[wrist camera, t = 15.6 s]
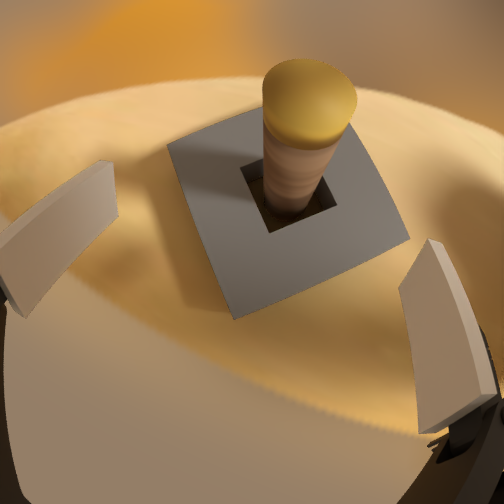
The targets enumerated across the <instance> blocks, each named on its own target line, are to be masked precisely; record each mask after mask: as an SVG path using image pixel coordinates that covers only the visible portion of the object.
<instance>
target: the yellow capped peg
mask: <svg viewBox="0 0 504 504" xmlns="http://www.w3.org/2000/svg"><path fill="white" fill-rule="evenodd" d="M262 91H263V167H264V206H265V209H266V210H267V212H268V213H269V214H270V215H271V216H272V217H273V218H275V219H277V220H280V221H292V220H295V219H297V218H298V217H299V216H300V215H301V214H302V213H303V212H304V210H305V208H306V206H307V204H308V202H309V200H310V198H311V197H312V195H313V193H314V191H315V189H316V187H317V185H318V183H319V181H320V179H321V177H322V175H323V173H324V171H325V169H326V167H327V165H328V163H329V161H330V159H331V157H332V155H333V154H334V152H335V150H336V148H337V146H338V144H339V142H340V140H341V138H342V135H343V133H344V131H345V129H346V127H347V125H348V123H349V121H350V119H351V117H352V115H353V113H354V111H355V109H356V106H357V94H356V91H355V88H354V86H353V84H352V83H351V82H350V80H349V79H348V78H347V77H346V76H345V75H344V74H343V73H342V72H340V71H339V70H338V69H336V68H334V67H333V66H331V65H328V64H326V63H324V62H320V61H317V60H311V59H293V60H288V61H284V62H282V63H279V64H278V65H276V66H274V67H273V68H272V69H271V70H270V71H269V72H268V73H267V74H266V76H265V78H264V81H263V87H262Z"/></svg>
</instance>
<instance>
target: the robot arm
mask: <svg viewBox="0 0 504 504" xmlns="http://www.w3.org/2000/svg"><path fill="white" fill-rule="evenodd" d="M117 217H118V208H117V199H116V190H115V180H114V167H113V162H110V161H102V160H100V161H98V162H96V163H95V164H93V165H91V166H90V167H88V168H87V169H85V170H83V171H82V172H80V173H79V174H77V175H76V176H74V177H73V178H71V179H70V180H68V181H67V182H65V183H64V184H62V185H61V186H59V187H58V188H57V189H55V190H54V191H52V192H51V193H50V194H48V195H47V196H45V197H44V198H43V199H41V200H40V201H39V202H37V203H36V204H35V205H34V206H32V207H31V208H30V209H29V210H27V211H26V212H25V213H24V214H22V215H21V216H20V217H19V218H17V219H16V220H15V221H14V222H13V223H12V224H10V225H9V226H8V227H7V228H6V229H5V230H4V231H3V232H1V233H0V504H31V503H30V502H29V501H28V500H27V499H26V498H25V497H24V496H23V494H22V492H21V489H20V486H19V482H18V478H17V474H16V470H15V466H14V462H13V458H12V452H11V448H10V442H9V435H8V429H7V421H6V411H5V400H4V376H3V362H4V361H3V360H4V359H3V358H4V337H5V325H6V315H7V309H6V306H5V305H4V303H5V301H6V300H7V299H8V301H9V303H10V305H11V306H12V308H13V309H14V311H15V312H17V313H18V314H20V315H21V316H22V317H24V318H27V317H28V315H29V314H30V313H31V311H32V310H33V309H34V307H35V306H36V305H37V303H38V302H39V301H40V300H41V299H42V297H43V296H44V295H45V294H46V293H47V291H48V290H49V289H50V288H51V287H52V285H53V284H54V283H55V282H56V281H57V280H58V278H59V277H60V276H61V275H62V274H63V273H64V272H65V271H66V269H67V268H68V267H69V266H70V265H71V264H72V263H73V262H74V261H75V260H76V258H77V257H78V256H79V255H80V254H81V253H82V252H83V251H84V250H85V249H86V248H87V247H88V246H89V245H90V244H91V243H92V242H93V241H94V240H95V239H96V238H97V237H98V236H99V235H100V234H101V233H102V232H103V231H104V230H105V229H106V228H107V227H108V226H109V225H110V224H111V223H112V222H113V221H114V220H115V219H116V218H117ZM399 292H400V297H401V301H402V306H403V310H404V315H405V320H406V325H407V331H408V336H409V342H410V348H411V355H412V362H413V370H414V378H415V387H416V398H417V411H418V432H419V434H427V433H437V432H438V431H440V430H442V429H444V428H446V427H447V426H448V427H449V433H447V434H445V435H443V436H442V437H440V438H438V439H436V440H434V441H432V442H430V443H429V444H428V445H427V447H428V448H429V447H431V446H433V445H436V444H438V443H439V444H438V446H437V447H435V448H433V449H432V451H433V454H432V456H431V457H430V459H429V461H428V462H427V463H426V465H425V466H424V468H423V469H422V471H421V472H420V474H419V475H418V476H417V478H416V479H415V481H414V482H413V483H412V485H411V486H410V488H409V489H408V490H407V491H406V493H405V494H404V495H403V496H402V498H401V499H400V500H399V501H398V503H397V504H504V471H503V469H504V398H503V399H502V397H501V393H500V388H499V383H498V379H497V375H496V371H495V367H494V364H493V360H491V358H492V357H491V353H490V350H488V348H489V347H488V343H487V340H486V337H485V334H484V333H483V331H482V329H481V328H480V326H479V325H478V323H477V321H476V318H475V315H474V313H473V310H472V307H471V305H470V302H469V300H468V297H467V295H466V293H465V290H464V288H463V286H462V283H461V281H460V279H459V277H458V275H457V272H456V270H455V268H454V266H453V264H452V262H451V260H450V258H449V256H448V254H447V252H446V250H445V248H444V246H443V244H442V243H440V242H438V241H435V240H432V239H429V238H428V239H427V240H426V242H425V244H424V246H423V248H422V249H421V251H420V253H419V255H418V256H417V258H416V260H415V262H414V263H413V265H412V267H411V268H410V270H409V272H408V273H407V275H406V276H405V278H404V280H403V281H402V283H401V284H400V286H399Z"/></svg>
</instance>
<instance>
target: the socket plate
mask: <svg viewBox="0 0 504 504" xmlns="http://www.w3.org/2000/svg"><path fill="white" fill-rule="evenodd" d="M167 147H168V150H169V153H170V156H171V159H172V162H173V165H174V168H175V170H176V173H177V176H178V179H179V182H180V184H181V187H182V190H183V193H184V195H185V198H186V201H187V204H188V206H189V209H190V212H191V214H192V217H193V220H194V222H195V225H196V228H197V230H198V233H199V235H200V238H201V241H202V243H203V246H204V248H205V251H206V253H207V256H208V258H209V261H210V263H211V266H212V268H213V271H214V273H215V276H216V278H217V281H218V283H219V286H220V288H221V290H222V293H223V295H224V298H225V300H226V302H227V305H228V307H229V310H230V312H231V314H232V317H233V319H234V320H235V319H238V318H240V317H243V316H245V315H247V314H250V313H252V312H255V311H257V310H260V309H262V308H264V307H267V306H269V305H272V304H274V303H276V302H279V301H281V300H283V299H286V298H288V297H290V296H292V295H295V294H297V293H299V292H301V291H304V290H306V289H308V288H310V287H313V286H315V285H317V284H319V283H321V282H324V281H326V280H328V279H330V278H332V277H334V276H337V275H339V274H341V273H343V272H345V271H347V270H349V269H351V268H353V267H355V266H357V265H360V264H362V263H364V262H366V261H368V260H370V259H372V258H374V257H376V256H378V255H380V254H382V253H384V252H386V251H388V250H390V249H392V248H393V247H395V246H397V245H399V244H401V243H403V242H405V241H407V240H409V239H410V237H409V235H408V232H407V230H406V228H405V225H404V223H403V221H402V219H401V216H400V214H399V212H398V210H397V208H396V206H395V203H394V201H393V199H392V197H391V195H390V193H389V191H388V189H387V187H386V185H385V183H384V181H383V180H382V178H381V176H380V174H379V172H378V170H377V168H376V167H375V165H374V163H373V161H372V159H371V158H370V156H369V154H368V152H367V151H366V149H365V147H364V146H363V144H362V142H361V141H360V139H359V137H358V136H357V134H356V132H355V131H354V129H353V128H352V126H351V124H350V123H348V125H347V127H346V129H345V131H344V133H343V135H342V138H341V140H340V142H339V144H338V146H337V148H336V150H335V152H334V154H333V155H332V157H331V159H330V161H329V163H328V165H327V167H326V169H325V171H324V173H323V175H322V177H321V179H320V181H319V183H318V185H317V187H316V189H315V193H316V195H317V197H318V199H319V201H320V203H321V206H322V208H323V210H324V211H322V212H320V213H317V214H315V215H313V216H310V217H308V218H305V219H303V220H301V221H298V222H296V223H293V224H291V225H289V226H286V227H284V228H281V229H279V230H277V231H274V232H272V233H269V232H268V230H267V228H266V225H265V223H264V221H263V219H262V216H261V214H260V212H259V210H258V207H257V205H256V203H255V201H254V198H253V196H252V194H251V192H250V190H249V187H248V185H247V183H248V182H250V181H253V180H255V179H258V178H260V177H263V176H264V167H263V107H261V108H258V109H255V110H252V111H249V112H246V113H243V114H240V115H238V116H235V117H232V118H229V119H227V120H224V121H222V122H219V123H216V124H214V125H211V126H209V127H206V128H204V129H202V130H199V131H197V132H194V133H192V134H190V135H188V136H185V137H183V138H181V139H179V140H176V141H174V142H172V143H170V144H168V145H167Z"/></svg>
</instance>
